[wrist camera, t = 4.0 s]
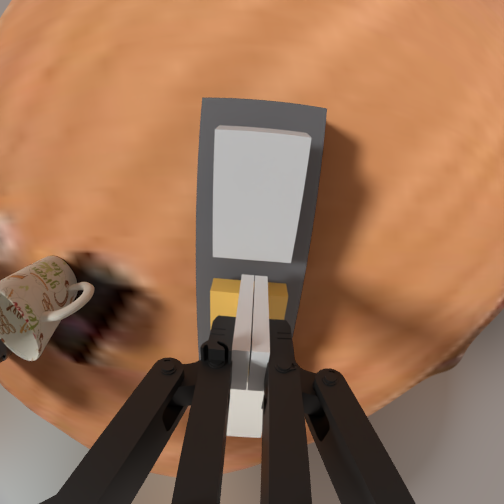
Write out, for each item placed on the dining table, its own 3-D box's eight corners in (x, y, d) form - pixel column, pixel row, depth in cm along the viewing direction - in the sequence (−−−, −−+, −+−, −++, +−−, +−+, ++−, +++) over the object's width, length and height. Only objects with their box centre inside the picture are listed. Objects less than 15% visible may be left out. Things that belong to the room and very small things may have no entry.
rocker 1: (216, 243, 19) (212, 256, 18) (219, 125, 14) (215, 129, 13) (288, 249, 19) (290, 263, 18) (306, 132, 15) (311, 137, 13)
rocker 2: (213, 356, 22) (211, 370, 21) (213, 277, 19) (210, 290, 17) (272, 361, 22) (272, 375, 21) (286, 283, 19) (288, 296, 18)
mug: (27, 252, 25) (-26, 291, 16) (97, 230, 24) (34, 277, 15) (53, 310, 28) (11, 358, 19) (126, 303, 27) (84, 367, 18)
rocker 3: (214, 424, 25) (212, 434, 24) (214, 369, 24) (212, 379, 22) (260, 427, 25) (260, 437, 24) (269, 373, 24) (269, 383, 22)
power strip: (209, 414, 34) (205, 444, 29) (213, 105, 20) (199, 95, 15) (265, 418, 34) (265, 449, 29) (313, 114, 20) (330, 107, 15)
